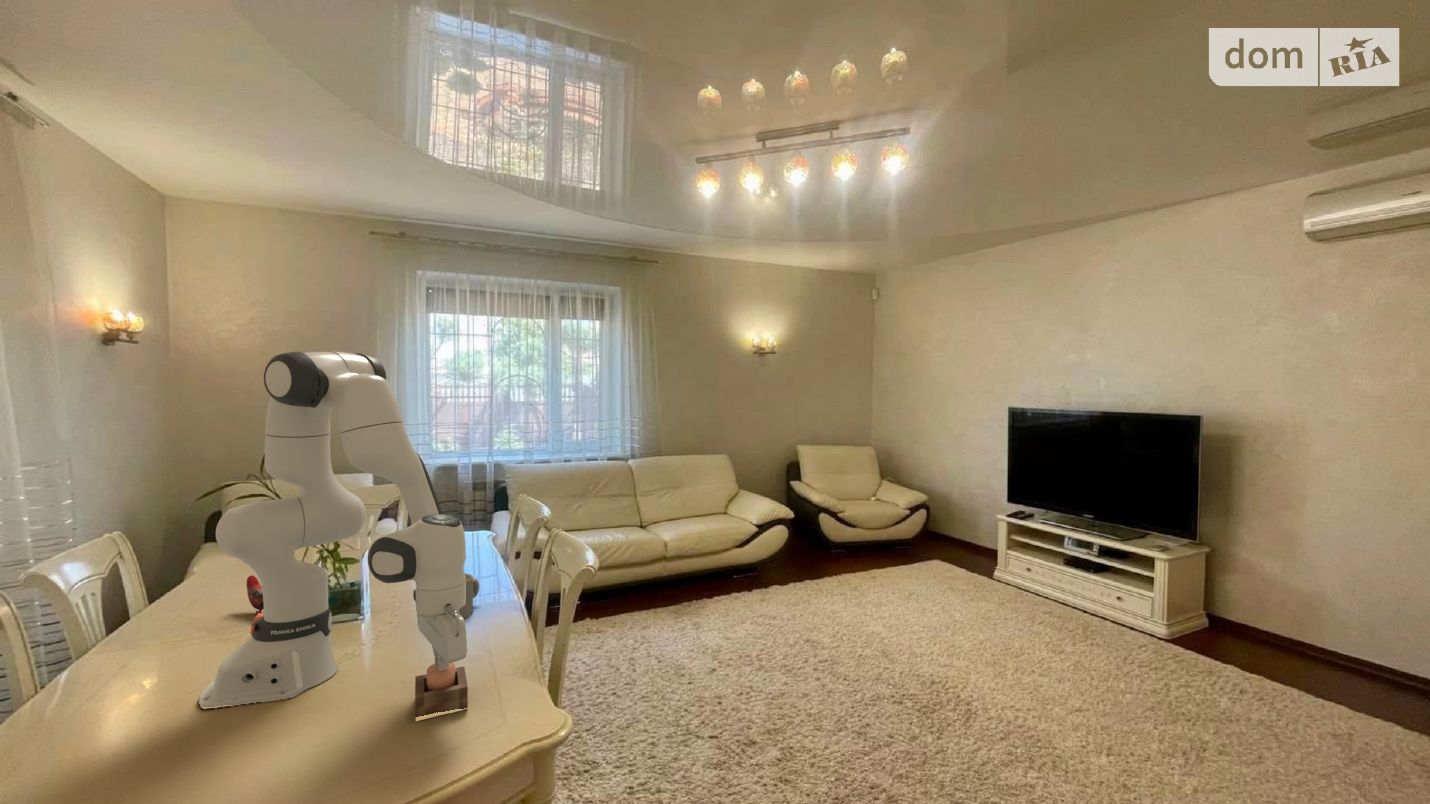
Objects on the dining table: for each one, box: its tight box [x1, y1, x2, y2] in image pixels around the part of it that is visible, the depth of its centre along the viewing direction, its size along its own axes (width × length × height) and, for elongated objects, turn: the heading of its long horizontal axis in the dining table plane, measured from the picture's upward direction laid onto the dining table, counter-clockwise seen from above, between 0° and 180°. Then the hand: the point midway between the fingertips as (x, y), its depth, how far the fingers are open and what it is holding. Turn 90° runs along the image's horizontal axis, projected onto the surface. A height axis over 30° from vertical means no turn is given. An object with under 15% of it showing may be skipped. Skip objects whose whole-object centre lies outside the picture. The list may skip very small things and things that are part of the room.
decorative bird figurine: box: [246, 574, 264, 614], centre depth 151 cm, size 3×18×10 cm, turn 59°
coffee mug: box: [459, 572, 480, 620], centre depth 154 cm, size 13×10×10 cm
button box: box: [414, 666, 469, 718], centre depth 109 cm, size 9×9×4 cm
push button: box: [426, 662, 456, 692], centre depth 109 cm, size 5×5×4 cm
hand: (441, 667), depth 109 cm, fingers closed
